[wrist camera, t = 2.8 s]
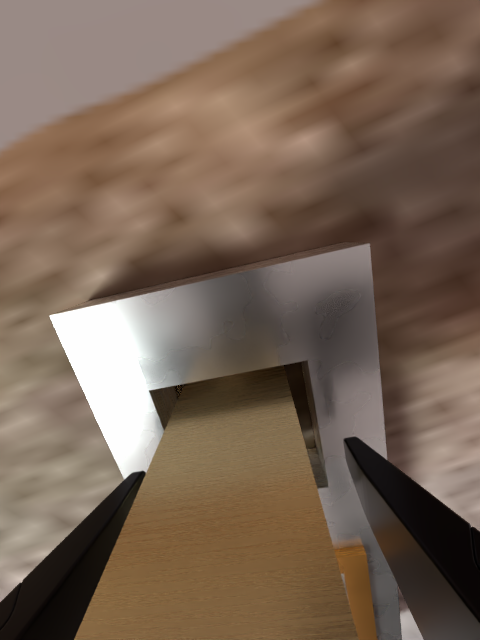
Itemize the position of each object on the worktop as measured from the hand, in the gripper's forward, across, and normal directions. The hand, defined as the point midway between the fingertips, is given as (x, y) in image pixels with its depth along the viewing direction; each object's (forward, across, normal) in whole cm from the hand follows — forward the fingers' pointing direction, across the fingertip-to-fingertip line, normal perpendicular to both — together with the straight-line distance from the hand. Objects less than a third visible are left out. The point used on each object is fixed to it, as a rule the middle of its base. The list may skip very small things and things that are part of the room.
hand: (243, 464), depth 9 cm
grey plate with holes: (+3, 0, +5) cm, 6 cm away
